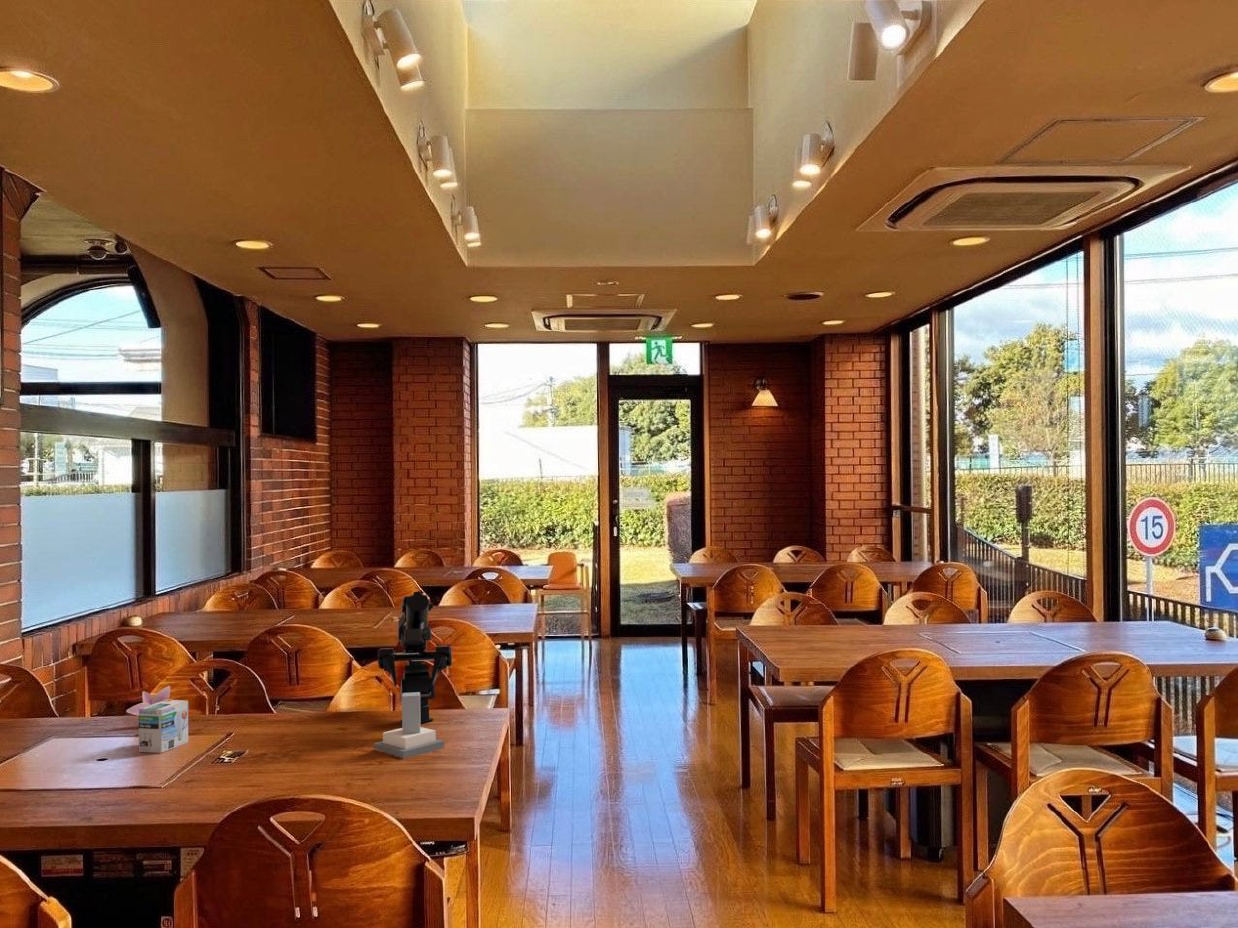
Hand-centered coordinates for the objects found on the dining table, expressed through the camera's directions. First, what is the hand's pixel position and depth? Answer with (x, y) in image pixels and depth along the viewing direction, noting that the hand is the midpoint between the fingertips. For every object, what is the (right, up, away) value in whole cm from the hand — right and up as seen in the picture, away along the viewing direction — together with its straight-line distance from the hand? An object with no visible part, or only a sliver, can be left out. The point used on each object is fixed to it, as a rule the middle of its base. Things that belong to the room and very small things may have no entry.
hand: (413, 684), depth 243 cm
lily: (-75, -16, +18) cm, 79 cm away
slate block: (+1, -9, -9) cm, 13 cm away
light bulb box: (-62, -15, -4) cm, 64 cm away
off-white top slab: (+1, -12, -10) cm, 15 cm away
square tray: (+1, -14, -10) cm, 17 cm away
